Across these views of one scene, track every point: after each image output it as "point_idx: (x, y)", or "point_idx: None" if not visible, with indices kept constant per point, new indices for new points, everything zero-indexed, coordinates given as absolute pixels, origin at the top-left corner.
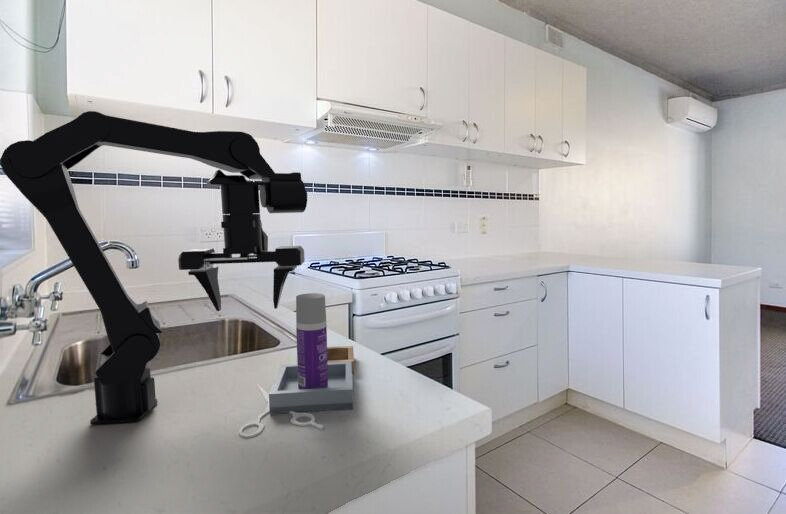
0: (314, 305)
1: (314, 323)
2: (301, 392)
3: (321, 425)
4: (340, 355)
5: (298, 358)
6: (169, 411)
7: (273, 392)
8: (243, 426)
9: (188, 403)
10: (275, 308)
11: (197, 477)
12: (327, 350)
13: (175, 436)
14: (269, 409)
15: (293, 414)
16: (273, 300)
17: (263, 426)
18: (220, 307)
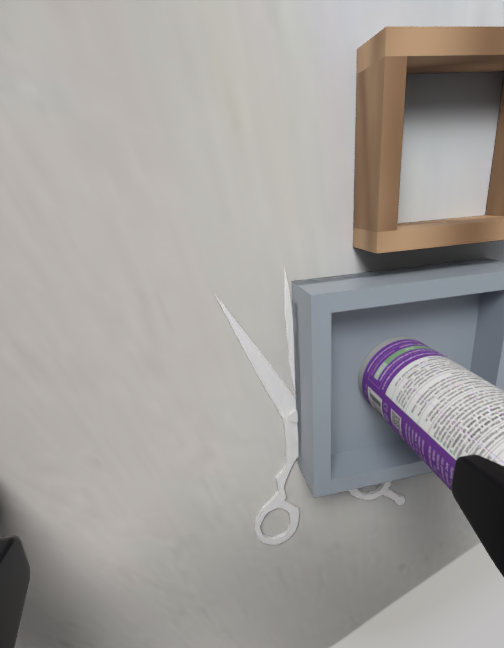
0: None
1: None
2: (388, 481)
3: (402, 498)
4: (494, 66)
5: (417, 454)
6: (38, 471)
7: (323, 489)
8: (259, 519)
9: (63, 428)
10: (458, 489)
11: (234, 631)
12: (464, 57)
13: (131, 556)
14: (295, 451)
15: None
16: (500, 571)
17: (298, 513)
18: (12, 564)
